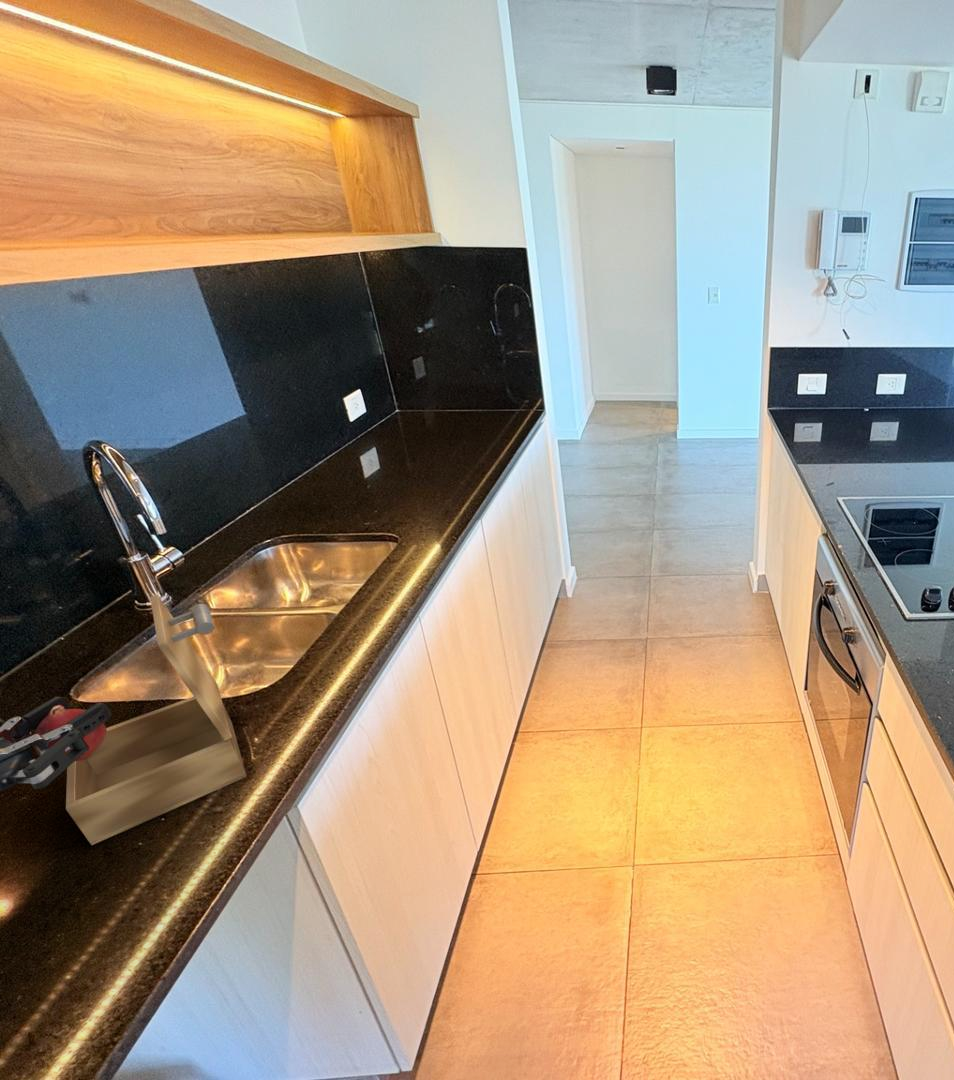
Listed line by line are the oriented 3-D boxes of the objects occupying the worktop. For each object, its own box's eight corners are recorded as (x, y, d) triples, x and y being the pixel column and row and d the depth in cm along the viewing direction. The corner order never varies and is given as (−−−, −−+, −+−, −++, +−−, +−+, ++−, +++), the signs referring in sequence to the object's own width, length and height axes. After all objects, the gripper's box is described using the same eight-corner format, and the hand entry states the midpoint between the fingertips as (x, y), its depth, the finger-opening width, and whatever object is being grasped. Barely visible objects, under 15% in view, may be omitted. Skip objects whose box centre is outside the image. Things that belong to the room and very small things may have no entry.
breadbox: (92, 847, 74) (65, 809, 71) (91, 778, 83) (67, 741, 80) (247, 778, 84) (229, 741, 80) (232, 723, 92) (215, 688, 89)
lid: (157, 645, 71) (209, 625, 74) (149, 596, 80) (196, 580, 83) (224, 740, 80) (268, 719, 83) (211, 687, 89) (251, 670, 92)
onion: (71, 783, 71) (36, 731, 67) (39, 770, 72) (4, 718, 69) (128, 747, 76) (99, 697, 72) (97, 735, 77) (68, 686, 73)
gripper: (-65, 811, 56) (123, 688, 71) (-189, 788, 58) (19, 673, 73) (-21, 864, 59) (150, 736, 74) (-140, 841, 61) (50, 721, 76)
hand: (84, 705), depth 73 cm, fingers closed on onion, 5 cm apart
